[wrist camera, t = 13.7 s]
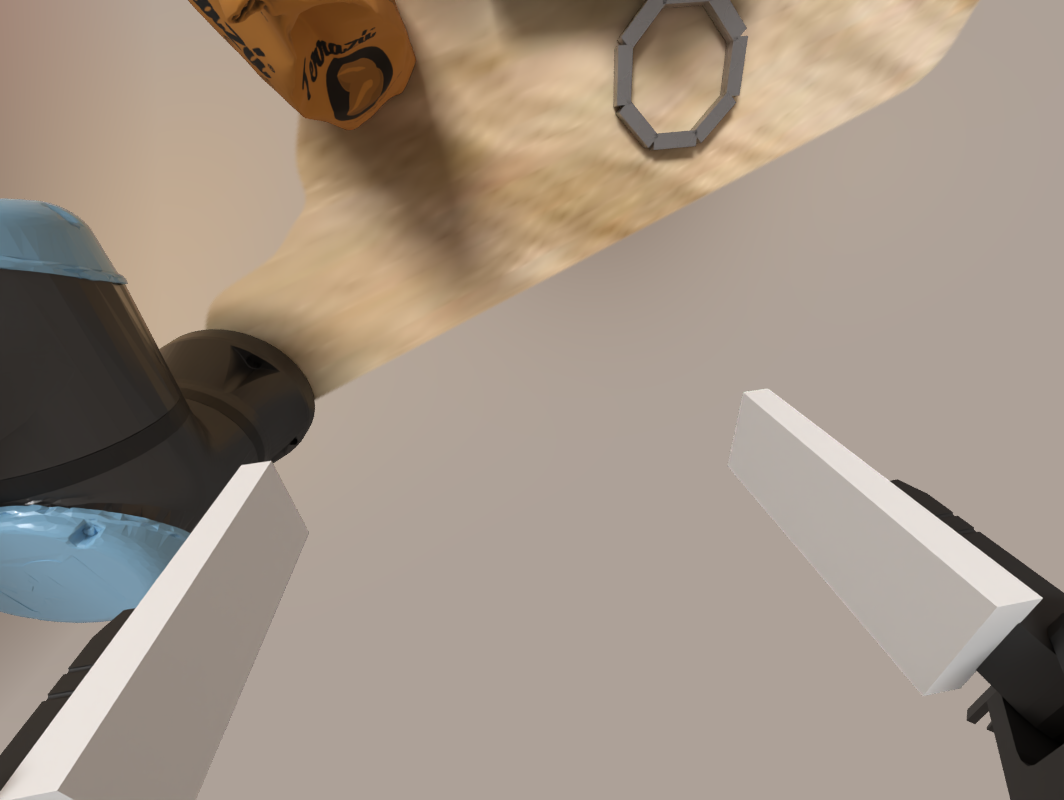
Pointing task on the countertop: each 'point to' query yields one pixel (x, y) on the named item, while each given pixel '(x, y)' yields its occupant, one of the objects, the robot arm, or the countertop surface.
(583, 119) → the countertop surface
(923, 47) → the countertop surface
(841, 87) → the countertop surface
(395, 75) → the coffee package
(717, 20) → the collar
